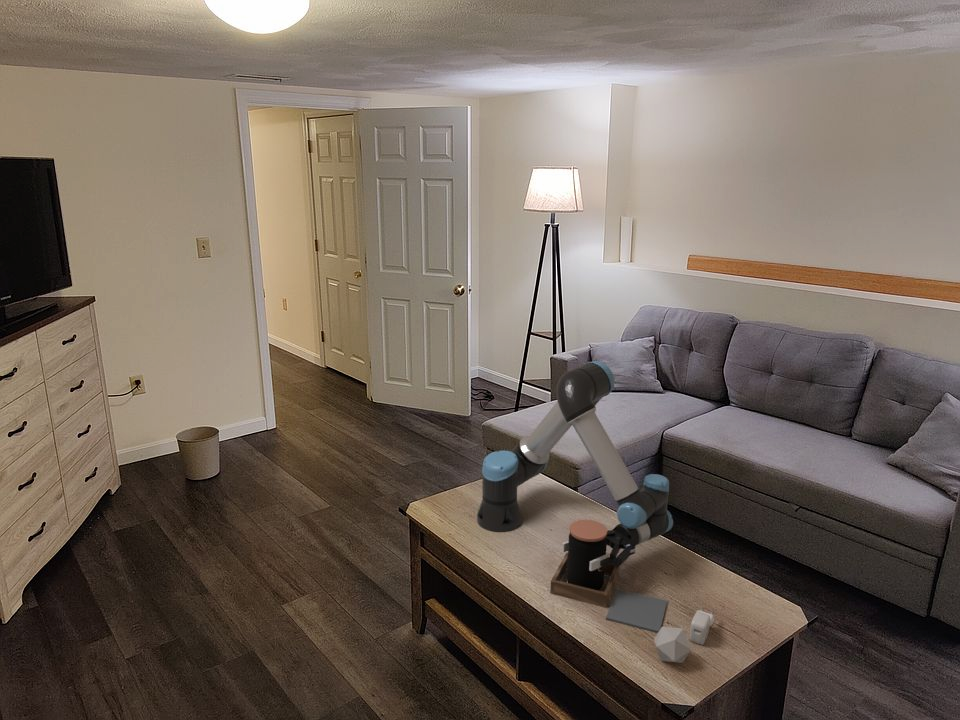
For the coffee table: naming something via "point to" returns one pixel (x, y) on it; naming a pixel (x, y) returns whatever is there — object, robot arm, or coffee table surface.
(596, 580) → the coffee jar
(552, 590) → the walnut crate
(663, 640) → the die
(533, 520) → the coffee table surface
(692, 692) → the coffee table surface
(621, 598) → the rubber mat
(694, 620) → the power adapter
